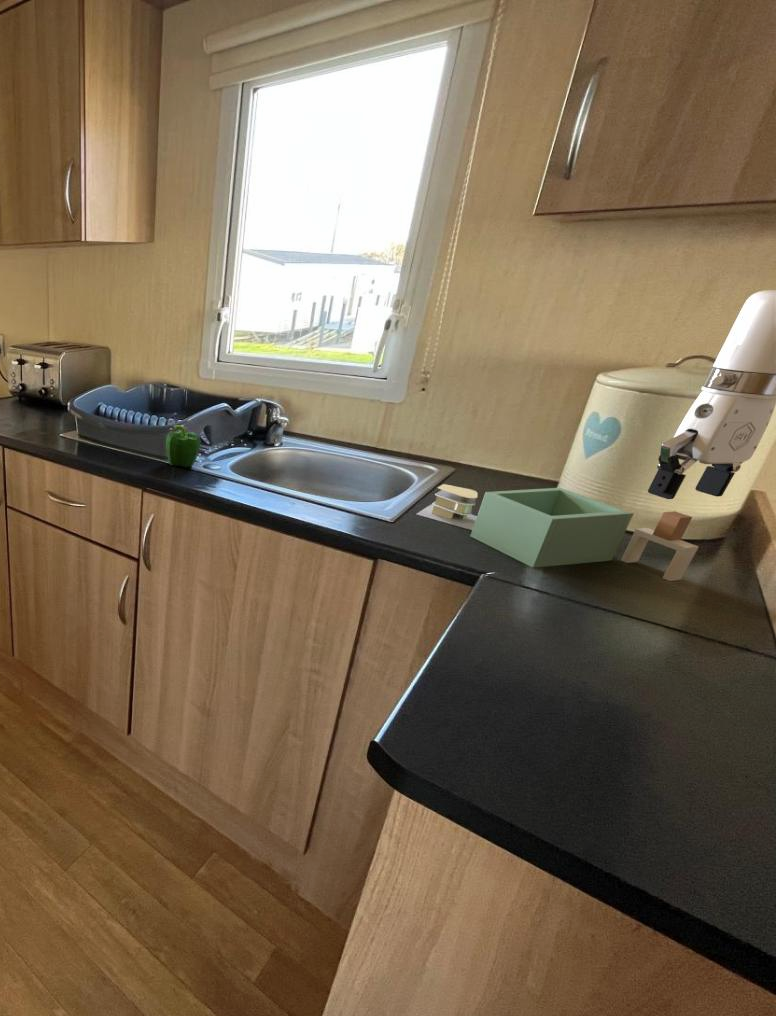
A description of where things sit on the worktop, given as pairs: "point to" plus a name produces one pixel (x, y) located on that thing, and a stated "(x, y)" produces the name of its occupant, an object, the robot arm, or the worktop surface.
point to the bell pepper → (182, 447)
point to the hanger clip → (665, 543)
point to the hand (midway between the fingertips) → (683, 494)
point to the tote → (550, 526)
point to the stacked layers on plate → (452, 506)
